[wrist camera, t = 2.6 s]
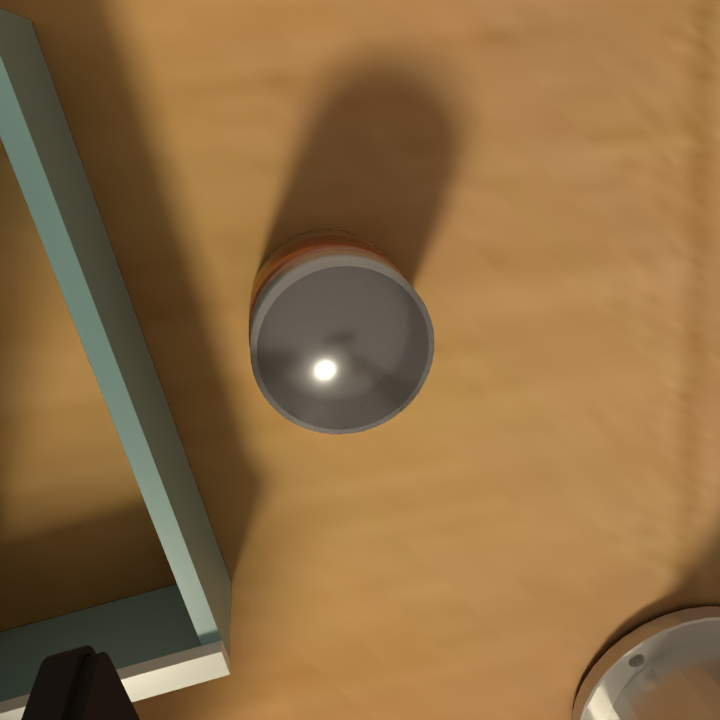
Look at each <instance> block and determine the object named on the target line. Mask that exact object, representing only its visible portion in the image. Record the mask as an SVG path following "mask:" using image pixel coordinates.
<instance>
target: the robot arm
mask: <svg viewBox="0 0 720 720" xmlns="http://www.w3.org/2000/svg"><path fill="white" fill-rule="evenodd" d="M21 720H140V719H139V717H138V715H137V713H136V711H135V709H134V707H133V704H132V702H131V700H130V698H129V696H128V694H127V692H126V690H125V688H124V686H123V684H122V682H121V679H120V677H119V675H118V673H117V671H116V669H115V667H114V665H113V663H112V661H111V659H110V657H109V655H108V654H107V653H106V652H100V653H97V654H96V652H95V650H94V649H93V648H92V647H91V646H89V645H87V646H82V647H78V648H75V649H71V650H68V651H64V652H61V653H57V654H54V655H50V656H47V657H46V658H45V659H44V660H43V661H42V663H41V665H40V668H39V671H38V674H37V676H36V679H35V682H34V685H33V688H32V690H31V693H30V696H29V699H28V702H27V704H26V707H25V710H24V713H23V716H22V719H21ZM572 720H720V607H716V606H705V607H697V608H690V609H684V610H680V611H677V612H673V613H670V614H666V615H663V616H661V617H659V618H657V619H654V620H652V621H650V622H648V623H646V624H643V625H642V626H640V627H639V628H637V629H635V630H634V631H632V632H631V633H629V634H627V635H626V636H624V637H623V638H622V639H621V640H619V641H618V642H617V643H616V644H615V645H613V646H612V647H611V648H610V649H609V650H607V652H606V653H605V654H604V655H603V656H602V657H601V658H600V659H599V660H598V662H597V663H596V664H595V665H594V666H593V668H592V669H591V671H590V672H589V674H588V675H587V677H586V678H585V680H584V682H583V683H582V685H581V688H580V690H579V692H578V695H577V697H576V700H575V703H574V709H573V714H572Z"/></svg>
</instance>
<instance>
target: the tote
mask: <svg viewBox="0 0 720 720" xmlns="http://www.w3.org/2000/svg"><path fill="white" fill-rule="evenodd" d="M0 137H1V140H2V142H3V145H4V147H5V150H6V152H7V155H8V157H9V160H10V162H11V165H12V167H13V170H14V172H15V175H16V178H17V180H18V183H19V185H20V188H21V190H22V193H23V195H24V198H25V200H26V203H27V205H28V208H29V210H30V213H31V215H32V218H33V221H34V223H35V226H36V228H37V231H38V233H39V236H40V238H41V241H42V243H43V246H44V248H45V251H46V253H47V256H48V258H49V261H50V263H51V266H52V269H53V271H54V274H55V276H56V279H57V281H58V284H59V286H60V289H61V291H62V294H63V296H64V299H65V301H66V304H67V306H68V309H69V312H70V314H71V317H72V319H73V322H74V324H75V327H76V329H77V332H78V334H79V337H80V339H81V342H82V344H83V347H84V349H85V352H86V354H87V357H88V360H89V362H90V365H91V367H92V370H93V372H94V375H95V377H96V380H97V382H98V385H99V387H100V390H101V392H102V395H103V397H104V400H105V402H106V405H107V408H108V410H109V413H110V415H111V418H112V420H113V423H114V425H115V428H116V430H117V433H118V435H119V438H120V440H121V443H122V445H123V448H124V451H125V453H126V456H127V458H128V461H129V463H130V466H131V468H132V471H133V473H134V476H135V478H136V481H137V483H138V486H139V488H140V491H141V493H142V496H143V499H144V501H145V504H146V506H147V509H148V511H149V514H150V516H151V519H152V521H153V524H154V526H155V529H156V531H157V534H158V536H159V539H160V542H161V544H162V547H163V549H164V552H165V554H166V557H167V559H168V562H169V564H170V567H171V569H172V572H173V574H174V577H175V579H176V582H177V584H175V585H172V586H168V587H164V588H161V589H157V590H153V591H150V592H146V593H142V594H139V595H135V596H131V597H128V598H124V599H120V600H117V601H113V602H109V603H106V604H102V605H98V606H95V607H91V608H87V609H84V610H80V611H76V612H73V613H69V614H65V615H62V616H58V617H54V618H51V619H47V620H43V621H40V622H36V623H32V624H29V625H25V626H21V627H18V628H14V629H10V630H7V631H3V632H0V720H21V719H22V716H23V713H24V710H25V707H26V704H27V702H28V699H29V696H30V693H31V690H32V688H33V685H34V682H35V679H36V676H37V674H38V671H39V668H40V665H41V663H42V661H43V660H44V659H45V658H46V657H47V656H50V655H54V654H57V653H61V652H64V651H68V650H71V649H75V648H78V647H82V646H87V645H89V646H91V647H92V648H93V649H94V650H95V652H96V654H97V653H100V652H106V653H107V654H108V655H109V657H110V659H111V661H112V663H113V665H114V667H115V669H116V671H117V673H118V675H119V677H120V679H121V682H122V684H123V686H124V688H125V690H126V692H127V694H128V696H129V698H130V700H131V702H135V701H138V700H142V699H145V698H149V697H152V696H156V695H160V694H163V693H167V692H170V691H174V690H177V689H181V688H184V687H188V686H191V685H195V684H198V683H202V682H206V681H209V680H213V679H216V678H220V677H223V676H227V675H230V660H229V647H230V622H231V596H232V583H231V580H230V577H229V574H228V572H227V569H226V566H225V563H224V560H223V558H222V555H221V552H220V549H219V546H218V544H217V541H216V538H215V535H214V532H213V530H212V527H211V524H210V521H209V518H208V516H207V513H206V510H205V507H204V504H203V502H202V499H201V496H200V493H199V490H198V488H197V485H196V482H195V479H194V476H193V473H192V471H191V468H190V465H189V462H188V459H187V457H186V454H185V451H184V448H183V445H182V443H181V440H180V437H179V434H178V431H177V429H176V426H175V423H174V420H173V417H172V415H171V412H170V409H169V406H168V403H167V401H166V398H165V395H164V392H163V389H162V387H161V384H160V381H159V378H158V375H157V373H156V370H155V367H154V364H153V361H152V358H151V356H150V353H149V350H148V347H147V344H146V342H145V339H144V336H143V333H142V330H141V328H140V325H139V322H138V319H137V316H136V314H135V311H134V308H133V305H132V302H131V300H130V297H129V294H128V291H127V288H126V286H125V283H124V280H123V277H122V274H121V272H120V269H119V266H118V263H117V260H116V257H115V255H114V252H113V249H112V246H111V243H110V241H109V238H108V235H107V232H106V229H105V227H104V224H103V221H102V218H101V215H100V213H99V210H98V207H97V204H96V201H95V199H94V196H93V193H92V190H91V187H90V185H89V182H88V179H87V176H86V173H85V171H84V168H83V165H82V162H81V159H80V157H79V154H78V151H77V148H76V145H75V142H74V140H73V137H72V134H71V131H70V128H69V126H68V123H67V120H66V117H65V114H64V112H63V109H62V106H61V103H60V100H59V98H58V95H57V92H56V89H55V86H54V84H53V81H52V78H51V75H50V72H49V70H48V67H47V64H46V61H45V58H44V56H43V53H42V50H41V47H40V44H39V42H38V39H37V36H36V33H35V30H34V27H33V25H32V22H31V20H29V19H27V18H24V17H21V16H19V15H16V14H14V13H11V12H9V11H6V10H3V9H1V8H0Z"/></svg>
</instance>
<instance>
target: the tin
mask: <svg viewBox="0 0 720 720" xmlns="http://www.w3.org/2000/svg"><path fill="white" fill-rule="evenodd" d="M249 344H250V354H251V364H252V369H253V373H254V376H255V379H256V382H257V384H258V386H259V388H260V390H261V392H262V394H263V395H264V397H265V398H266V399H267V401H268V402H269V403H270V404H271V406H272V407H273V408H274V409H275V410H276V411H277V412H279V413H280V414H281V415H282V416H284V417H285V418H286V419H288V420H290V421H291V422H293V423H295V424H296V425H299V426H301V427H303V428H306V429H309V430H312V431H316V432H320V433H327V434H350V433H356V432H361V431H365V430H368V429H371V428H374V427H376V426H378V425H381V424H383V423H385V422H386V421H388V420H390V419H391V418H393V417H395V416H396V415H397V414H398V413H400V412H401V411H402V410H403V409H404V408H405V407H406V406H408V405H409V404H410V403H411V401H412V400H413V399H414V398H415V396H416V395H417V394H418V393H419V391H420V389H421V388H422V386H423V384H424V383H425V380H426V378H427V376H428V374H429V371H430V367H431V364H432V360H433V354H434V333H433V326H432V322H431V318H430V316H429V313H428V311H427V308H426V306H425V304H424V303H423V301H422V299H421V298H420V296H419V295H418V294H417V292H416V291H415V290H414V289H413V287H412V285H411V284H410V283H409V281H408V280H407V279H406V278H405V276H404V275H403V274H402V273H401V272H400V271H399V270H398V268H397V267H396V266H395V265H394V264H393V263H392V262H391V261H390V260H389V259H388V258H387V257H386V256H385V255H384V254H383V253H382V252H380V251H379V250H378V249H377V248H376V247H375V246H374V245H372V244H371V243H370V242H368V241H367V240H365V239H363V238H361V237H359V236H357V235H354V234H352V233H349V232H344V231H340V230H330V229H327V230H315V231H309V232H306V233H303V234H299V235H297V236H295V237H293V238H291V239H289V240H287V241H286V242H284V243H283V244H281V245H280V246H279V247H277V248H276V249H275V250H274V251H273V252H272V253H271V254H270V255H269V256H268V257H267V258H266V260H265V261H264V263H263V264H262V266H261V267H260V269H259V271H258V273H257V275H256V278H255V281H254V283H253V287H252V292H251V301H250V308H249Z"/></svg>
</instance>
